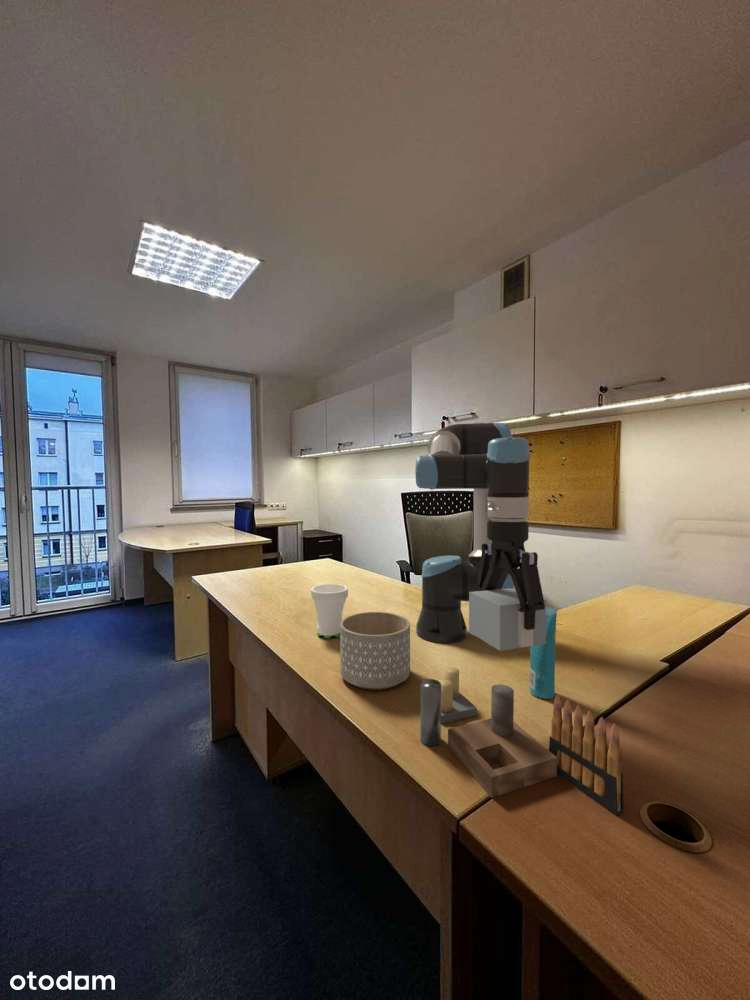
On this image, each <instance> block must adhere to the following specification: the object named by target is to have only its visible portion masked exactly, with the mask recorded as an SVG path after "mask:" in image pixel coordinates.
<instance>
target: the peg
mask: <svg viewBox="0 0 750 1000" xmlns="http://www.w3.org/2000/svg"><path fill="white" fill-rule="evenodd" d="M419 687H420V690H419V691H420V700H419V701H420V704H419V705H420V709H419V710H420V711H419V712H420V713H419V715H420V718H419V720H420V728H419V729H420V731H419V732H420V736H419V737H420V738H419V741H420V742H421V744H422V745H423V746H426V747H428V748H429V747H431V748H433V747H437V746H439V745H440V744H441V743H442V724H441V683H440V682H439V681H438V680H437V679H433V678H427V679H422V680H421V681H420V686H419Z"/></svg>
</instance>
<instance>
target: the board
mask: <svg viewBox="0 0 750 1000" xmlns="http://www.w3.org/2000/svg"><path fill="white" fill-rule="evenodd" d="M443 672H444V678H443V679H439V680H437V681H439V682H440V683H441V725H442V724H445V723H450V722H453V721H454V722H456V721H459V720H463V719H467V718H470V717H475V716H477V715H478V713H477V712H478V707H477V706H476V705H474V704H473V703H472V702H471V700H469V699H468V698H467V697H466V696H465V695H463V693H461V692H460V670H459V669H458V668H457V667H452V666H450V667H445V668H444V671H443Z"/></svg>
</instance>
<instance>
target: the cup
mask: <svg viewBox="0 0 750 1000" xmlns="http://www.w3.org/2000/svg"><path fill="white" fill-rule="evenodd" d="M348 596H349V587H348V586H347V585H345V584H339V583H322V584H318V585H314V586H313V587H311V589H310V597H311V599H312V600H313V604H314V607H315V610H316V616H317V625H316V633H317V634H316V635H317V636H318V637H319V636H322V637H323V638H325V639H326V638H327V639H326V640H330V639H331V638H332V637H334V636H335V638H340V623H341V621H342V620H343V618H342V617H343V610H344V607H345V606H344V605H345V603H346V600H347V599H348Z"/></svg>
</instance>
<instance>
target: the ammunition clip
mask: <svg viewBox="0 0 750 1000" xmlns="http://www.w3.org/2000/svg"><path fill="white" fill-rule="evenodd" d="M562 710H563V711H562ZM583 722H584V721H583V712H582V708H581V706H580V705H579V704H577V705H576V708H575V710H574V715H573V711H572V706H571V701H570V700H569V698H568V699H566V701H565V702H564V707H563V709H562V701H561V697H560V695H559V694H556V695H555V696H554V701H553V708H552V718H551V736H549V741H548V742H549V743H548V744H549V745H548V750H549V751H550V752H551V753H552V754H554V755H555V756H556V757H557V776H559V777H561V778H562V779H563V780H565V781H566V782H568V783H569V784H570V785H572V786H573V787H575V788H576V789H577V790H579V791H580V792H581V793H583V794H584V795H586V796H587V797H589V798H590V799H591V800H593V801H594V802H596V803H597V804H598V805H600V806H601V807H603V809H605V810H607V811H608V812H609V813H611V814H612V815H614V816H615V817H616V816H618V815H620V814H621V813H623V812H624V811H625V805H624V773H622V755H621V746H620V733H619V729H618V726H617V724H616V723H613V724H612V726H611V728H610V732H609V740H608V738H607V727H606V721H605V719H604V717H603V716H601V717H600V718H599V720H598V722H597V728H596V734H595V721H594V717H593V714H592V710H588V712H587V714H586V717H585V723H583ZM595 735H596V737H595ZM608 741H609V743H608Z"/></svg>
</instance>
